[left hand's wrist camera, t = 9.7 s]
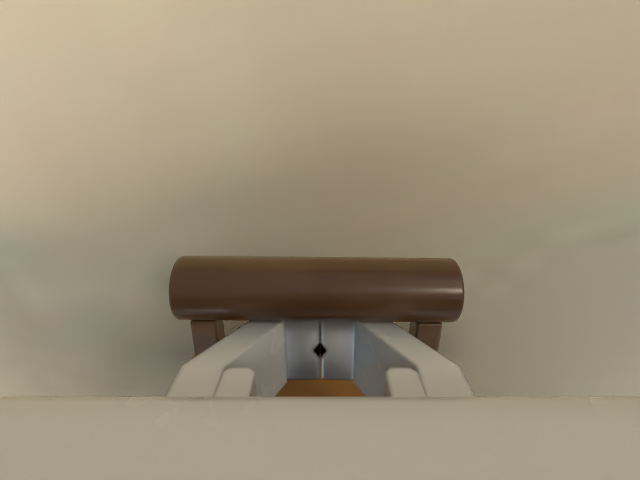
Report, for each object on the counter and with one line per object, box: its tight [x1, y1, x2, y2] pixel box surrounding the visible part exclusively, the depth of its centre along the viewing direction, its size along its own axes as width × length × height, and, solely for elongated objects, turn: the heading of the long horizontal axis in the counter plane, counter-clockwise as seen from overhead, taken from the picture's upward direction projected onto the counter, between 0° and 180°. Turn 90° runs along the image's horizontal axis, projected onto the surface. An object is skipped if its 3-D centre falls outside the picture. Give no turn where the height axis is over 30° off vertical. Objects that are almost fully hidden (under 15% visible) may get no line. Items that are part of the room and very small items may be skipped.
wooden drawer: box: [169, 256, 464, 397], centre depth 12 cm, size 18×10×6 cm, turn 179°
